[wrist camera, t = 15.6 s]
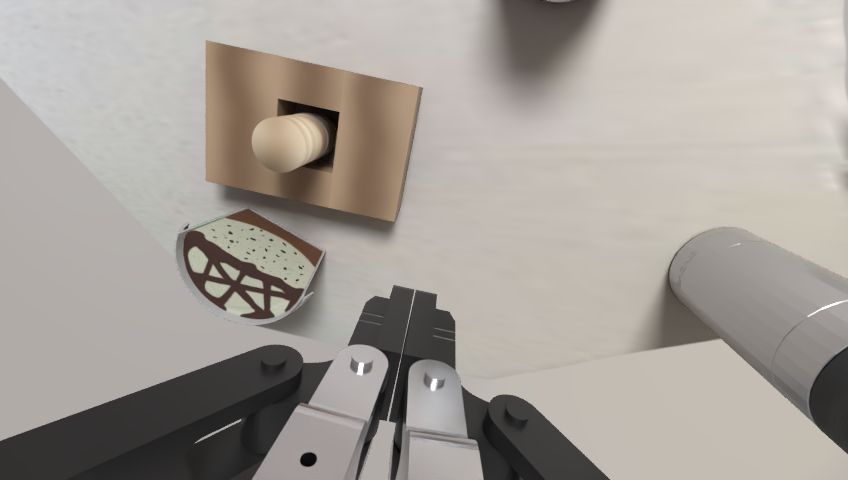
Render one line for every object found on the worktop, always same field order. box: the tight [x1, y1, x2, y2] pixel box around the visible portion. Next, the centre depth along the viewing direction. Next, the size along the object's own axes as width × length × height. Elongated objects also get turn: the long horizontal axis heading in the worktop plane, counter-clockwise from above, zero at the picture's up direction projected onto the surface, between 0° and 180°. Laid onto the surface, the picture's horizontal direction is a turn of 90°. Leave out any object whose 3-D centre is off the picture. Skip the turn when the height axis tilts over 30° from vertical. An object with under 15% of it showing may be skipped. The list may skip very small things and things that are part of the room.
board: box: [206, 41, 423, 222], centre depth 36 cm, size 18×12×4 cm, turn 78°
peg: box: [252, 112, 336, 173], centre depth 33 cm, size 4×4×10 cm
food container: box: [175, 206, 326, 325], centre depth 38 cm, size 12×6×10 cm, turn 59°
